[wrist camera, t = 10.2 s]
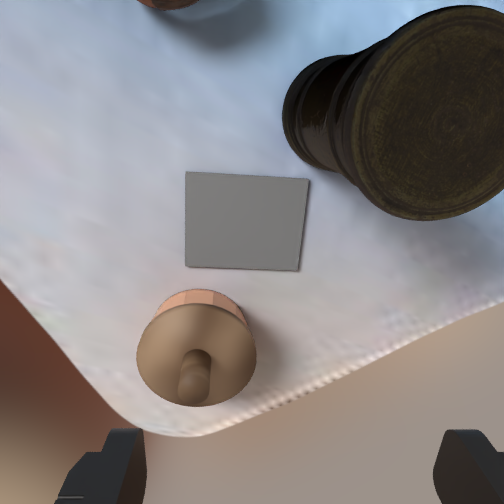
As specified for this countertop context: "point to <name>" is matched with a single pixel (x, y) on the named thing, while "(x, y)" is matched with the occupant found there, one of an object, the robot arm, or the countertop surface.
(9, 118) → the countertop surface
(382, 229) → the countertop surface
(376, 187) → the container
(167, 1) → the pottery mug
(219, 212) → the mat
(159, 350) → the lid
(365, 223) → the countertop surface
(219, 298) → the bowl
